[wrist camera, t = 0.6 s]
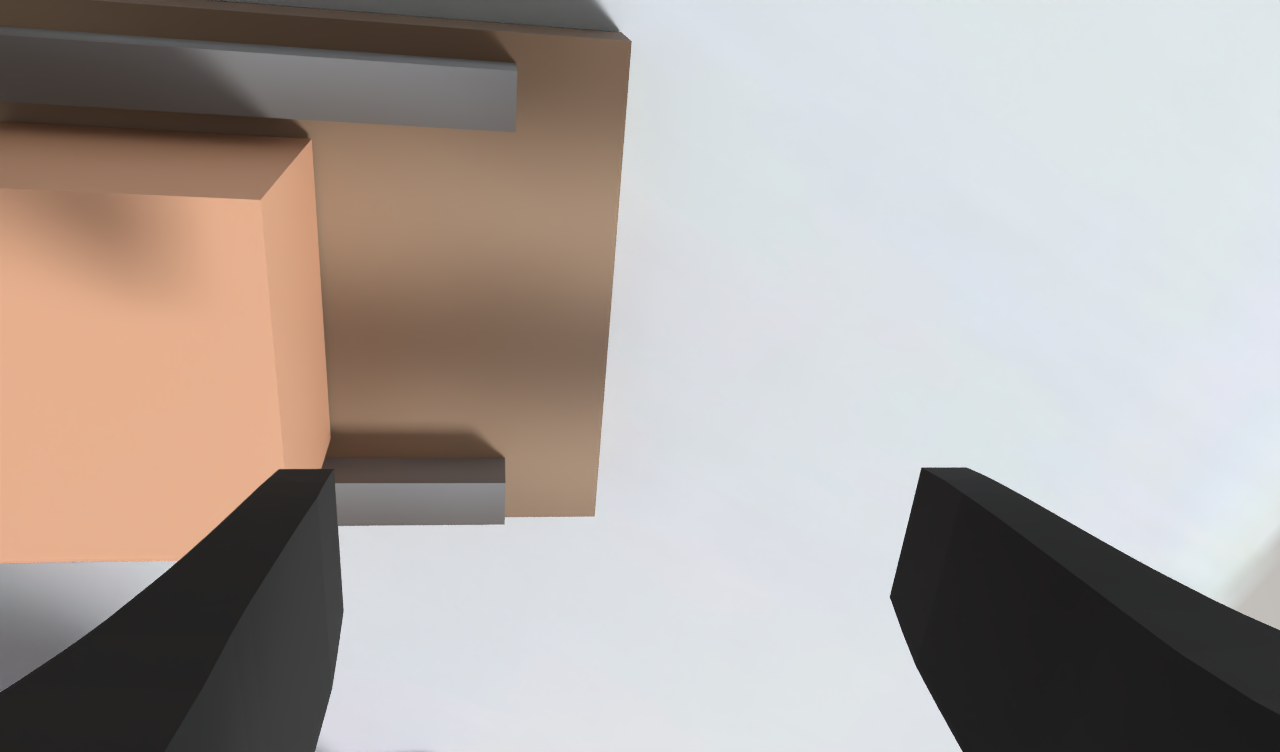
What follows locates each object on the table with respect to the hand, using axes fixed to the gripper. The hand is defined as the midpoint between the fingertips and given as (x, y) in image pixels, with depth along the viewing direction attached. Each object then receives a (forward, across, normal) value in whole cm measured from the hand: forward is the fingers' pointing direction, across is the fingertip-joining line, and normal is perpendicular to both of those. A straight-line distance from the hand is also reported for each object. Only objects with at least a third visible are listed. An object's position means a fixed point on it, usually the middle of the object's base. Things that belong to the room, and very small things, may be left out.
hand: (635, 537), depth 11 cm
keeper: (+8, +7, 0) cm, 11 cm away
